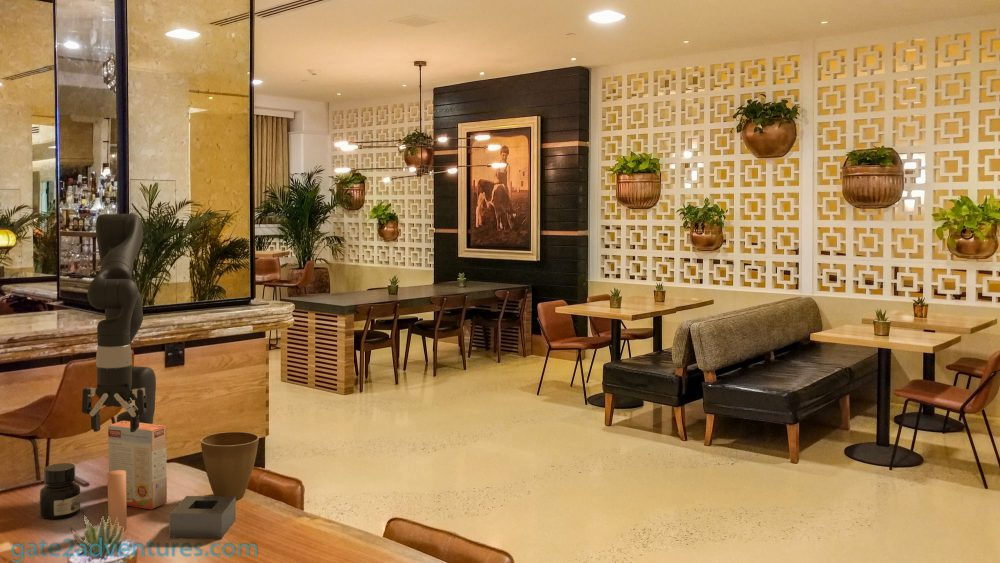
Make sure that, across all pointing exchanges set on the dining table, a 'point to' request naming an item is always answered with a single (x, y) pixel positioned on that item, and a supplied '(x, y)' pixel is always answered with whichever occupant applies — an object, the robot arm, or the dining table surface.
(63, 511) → the ink bottle
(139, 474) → the cracker box
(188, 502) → the socket
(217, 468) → the plant pot
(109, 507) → the peg
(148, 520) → the dining table surface
